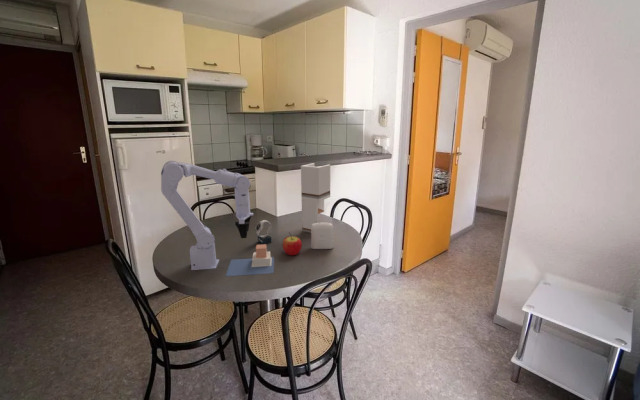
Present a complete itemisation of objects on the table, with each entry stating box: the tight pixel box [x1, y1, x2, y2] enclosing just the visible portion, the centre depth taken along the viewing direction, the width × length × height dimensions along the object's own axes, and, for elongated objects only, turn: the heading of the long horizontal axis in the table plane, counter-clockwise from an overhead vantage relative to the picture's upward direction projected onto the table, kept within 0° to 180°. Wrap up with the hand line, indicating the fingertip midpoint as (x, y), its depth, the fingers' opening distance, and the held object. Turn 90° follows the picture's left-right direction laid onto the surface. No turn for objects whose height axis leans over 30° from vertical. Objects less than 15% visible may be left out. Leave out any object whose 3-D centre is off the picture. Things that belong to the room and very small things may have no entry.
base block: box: [251, 250, 272, 266], centre depth 125 cm, size 7×7×3 cm
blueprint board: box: [225, 256, 275, 277], centre depth 122 cm, size 18×14×1 cm
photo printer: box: [310, 221, 335, 250], centre depth 138 cm, size 10×4×12 cm, turn 89°
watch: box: [254, 219, 273, 245], centre depth 145 cm, size 6×8×11 cm
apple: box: [282, 232, 303, 256], centre depth 132 cm, size 8×8×10 cm
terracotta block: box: [255, 244, 268, 258], centre depth 124 cm, size 4×4×4 cm
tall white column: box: [300, 162, 331, 234], centre depth 159 cm, size 11×11×35 cm
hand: (244, 234), depth 128 cm, fingers open, 7 cm apart
